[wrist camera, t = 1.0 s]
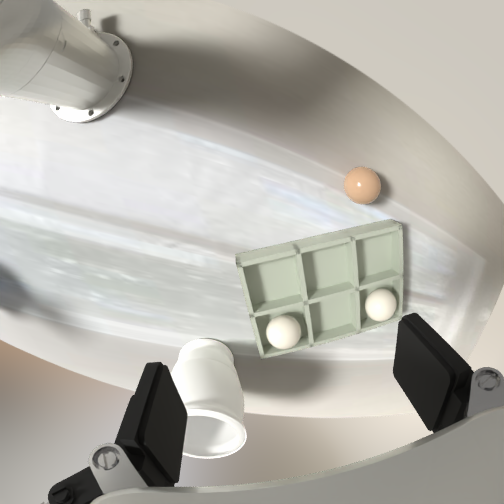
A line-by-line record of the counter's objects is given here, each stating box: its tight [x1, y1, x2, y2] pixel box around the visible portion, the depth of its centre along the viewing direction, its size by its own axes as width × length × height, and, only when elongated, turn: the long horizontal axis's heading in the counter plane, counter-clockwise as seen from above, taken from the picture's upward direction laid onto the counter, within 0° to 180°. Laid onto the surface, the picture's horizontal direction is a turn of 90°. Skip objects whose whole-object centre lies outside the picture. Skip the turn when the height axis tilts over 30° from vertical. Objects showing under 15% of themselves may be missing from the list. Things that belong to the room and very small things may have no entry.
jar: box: [171, 339, 246, 458], centre depth 35 cm, size 11×10×15 cm
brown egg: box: [344, 167, 381, 204], centre depth 33 cm, size 5×5×5 cm
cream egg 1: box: [266, 315, 301, 349], centre depth 38 cm, size 5×5×5 cm
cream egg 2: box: [365, 288, 397, 321], centre depth 38 cm, size 5×5×5 cm
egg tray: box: [235, 219, 403, 359], centre depth 38 cm, size 15×22×3 cm
